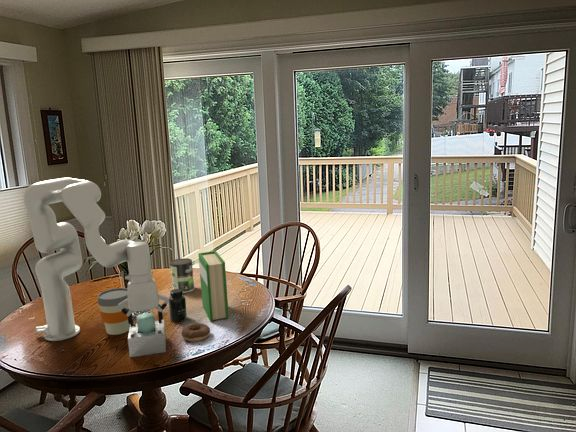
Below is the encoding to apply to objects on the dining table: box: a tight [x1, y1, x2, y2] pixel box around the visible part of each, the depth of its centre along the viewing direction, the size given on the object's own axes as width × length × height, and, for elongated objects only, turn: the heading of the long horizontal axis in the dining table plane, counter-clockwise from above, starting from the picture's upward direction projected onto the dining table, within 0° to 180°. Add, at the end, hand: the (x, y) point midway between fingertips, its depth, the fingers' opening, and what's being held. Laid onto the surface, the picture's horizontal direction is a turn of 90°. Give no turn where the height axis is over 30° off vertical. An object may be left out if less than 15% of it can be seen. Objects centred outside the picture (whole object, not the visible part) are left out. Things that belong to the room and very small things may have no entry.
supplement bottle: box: [168, 289, 188, 322], centre depth 194 cm, size 7×7×12 cm
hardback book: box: [198, 250, 230, 323], centre depth 197 cm, size 18×7×24 cm, turn 20°
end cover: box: [136, 312, 156, 333], centre depth 171 cm, size 6×6×12 cm
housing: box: [127, 319, 167, 358], centre depth 171 cm, size 12×12×8 cm
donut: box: [180, 322, 211, 343], centre depth 178 cm, size 11×11×4 cm
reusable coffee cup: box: [97, 287, 130, 336], centre depth 186 cm, size 13×13×15 cm
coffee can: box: [169, 257, 195, 294], centre depth 227 cm, size 10×10×14 cm
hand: (146, 323), depth 170 cm, fingers open, 9 cm apart
